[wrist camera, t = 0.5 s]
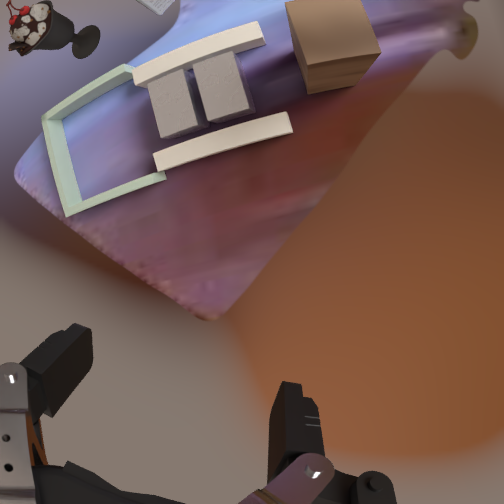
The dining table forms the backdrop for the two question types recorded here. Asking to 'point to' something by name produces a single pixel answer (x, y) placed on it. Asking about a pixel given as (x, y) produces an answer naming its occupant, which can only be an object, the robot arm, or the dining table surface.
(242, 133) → the slot rails
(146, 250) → the dining table surface
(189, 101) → the grey rectangular block
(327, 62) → the block
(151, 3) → the skincare box
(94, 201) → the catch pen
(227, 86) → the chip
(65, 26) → the sundae
